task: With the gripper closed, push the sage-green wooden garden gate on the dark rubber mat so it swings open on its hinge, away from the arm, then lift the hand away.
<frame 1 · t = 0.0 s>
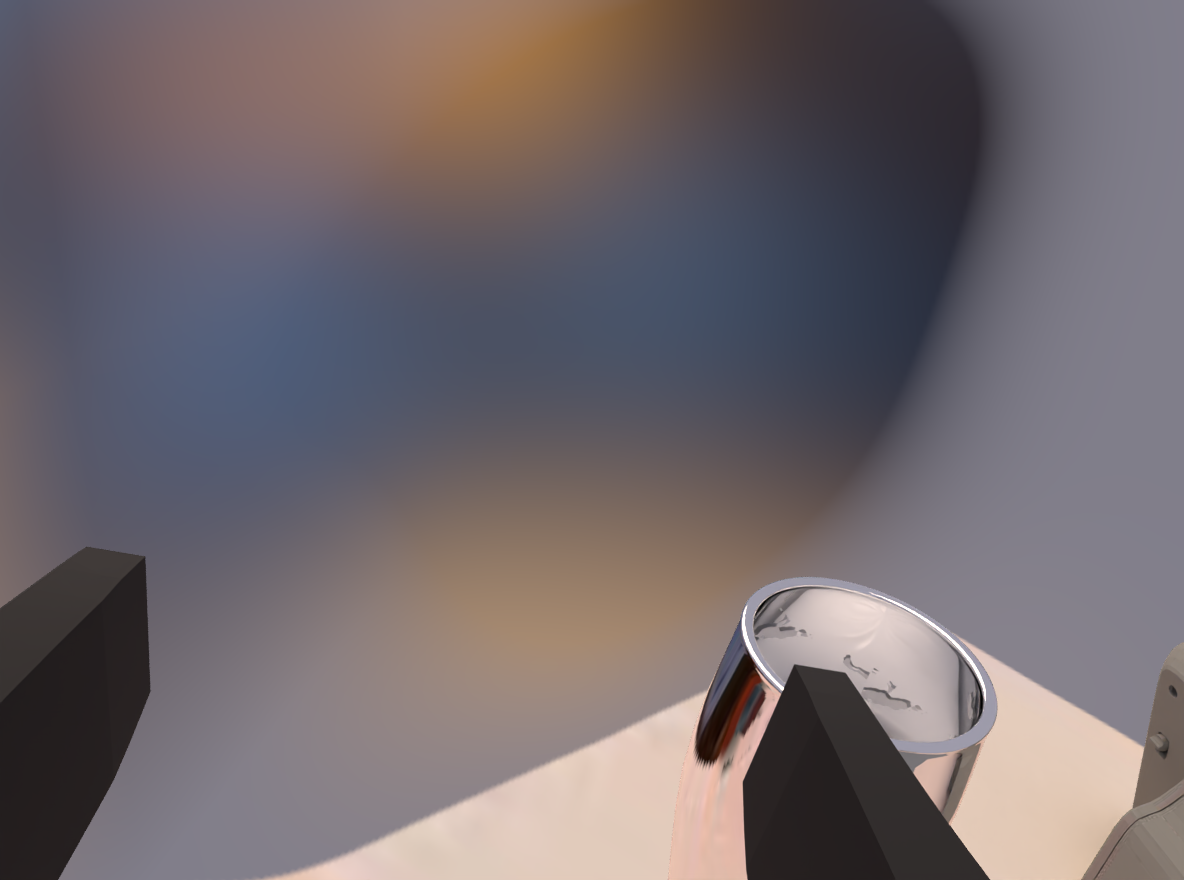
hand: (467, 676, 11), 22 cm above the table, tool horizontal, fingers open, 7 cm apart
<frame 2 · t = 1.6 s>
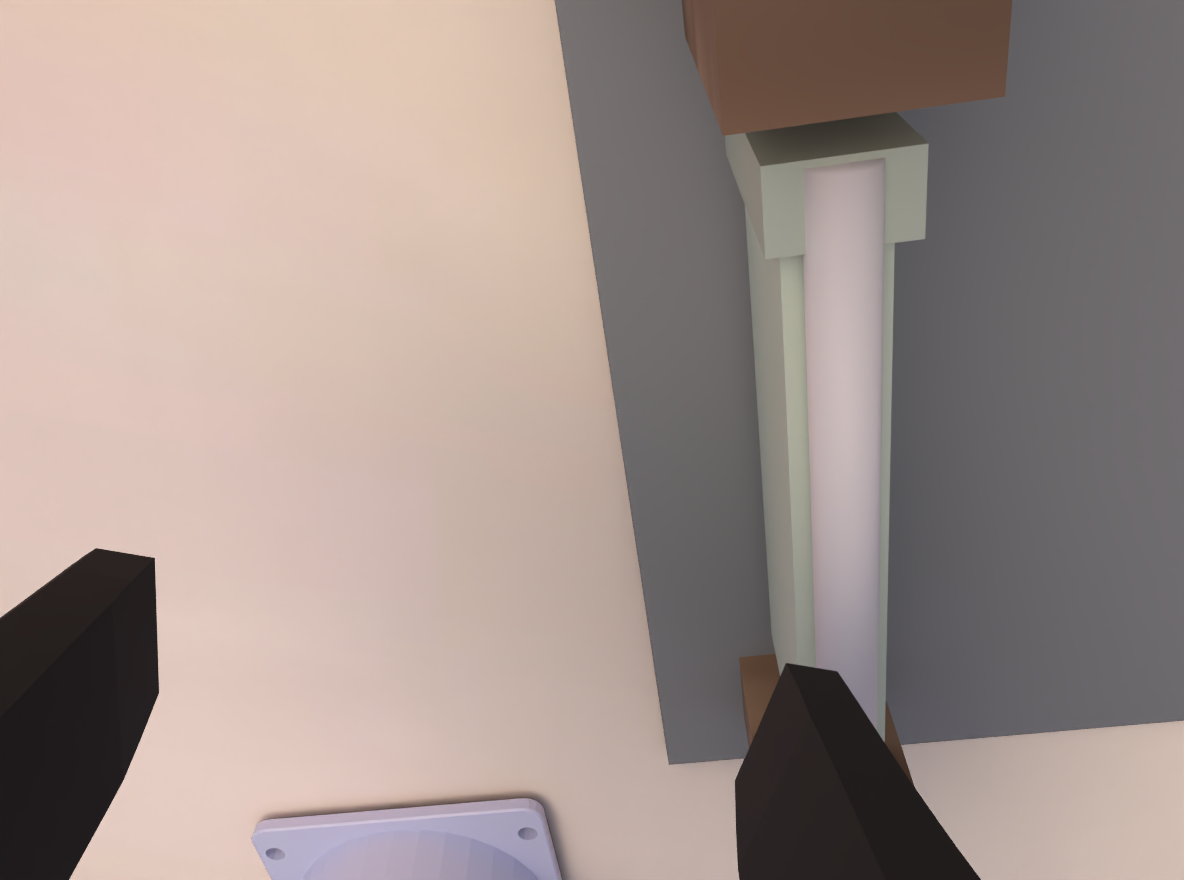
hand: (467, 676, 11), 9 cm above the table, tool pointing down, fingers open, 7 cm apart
gate: (820, 470, 17), point 3 cm above the table, hinge at 0.0°
yard mat: (1103, 321, 19), on the table
gate posts: (799, 623, 23), resting on yard mat
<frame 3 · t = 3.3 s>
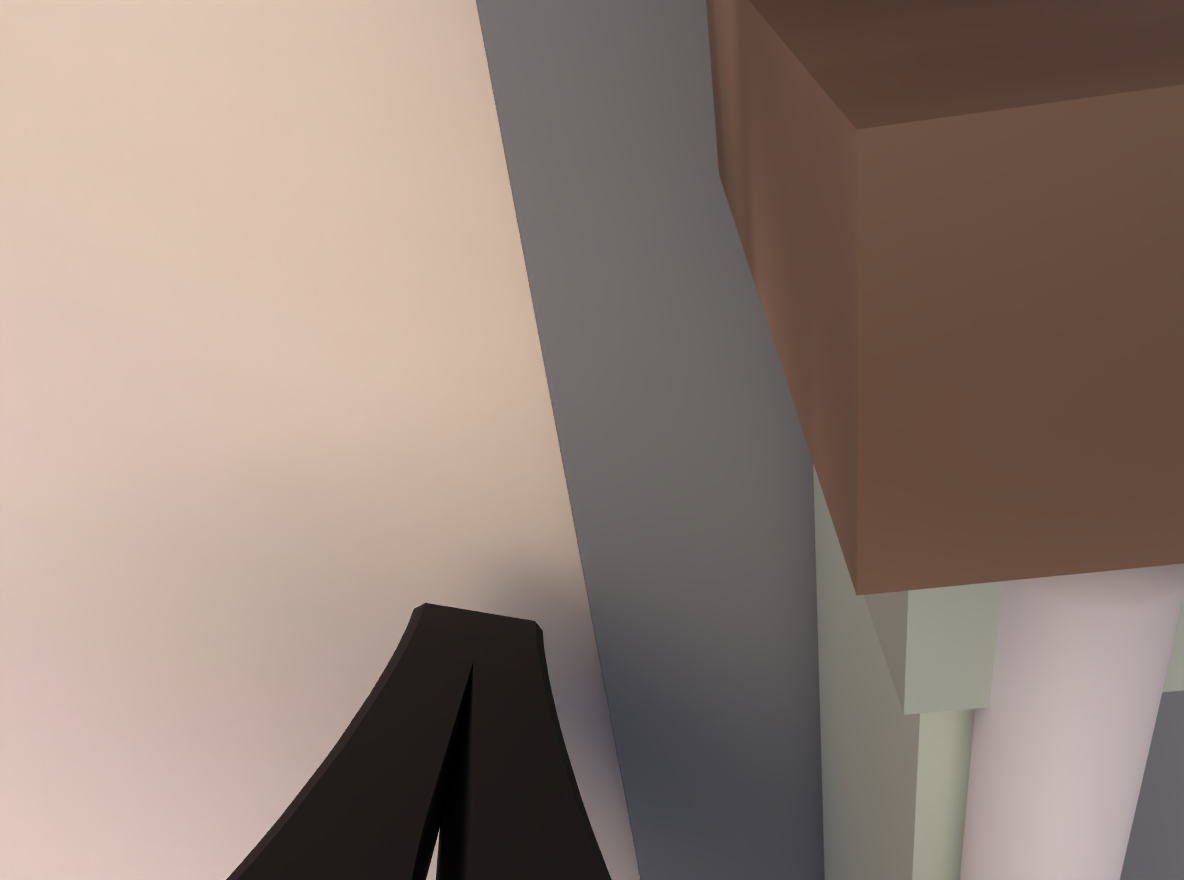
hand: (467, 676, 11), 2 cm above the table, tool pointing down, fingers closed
gate: (935, 867, 10), point 3 cm above the table, hinge at 0.0°
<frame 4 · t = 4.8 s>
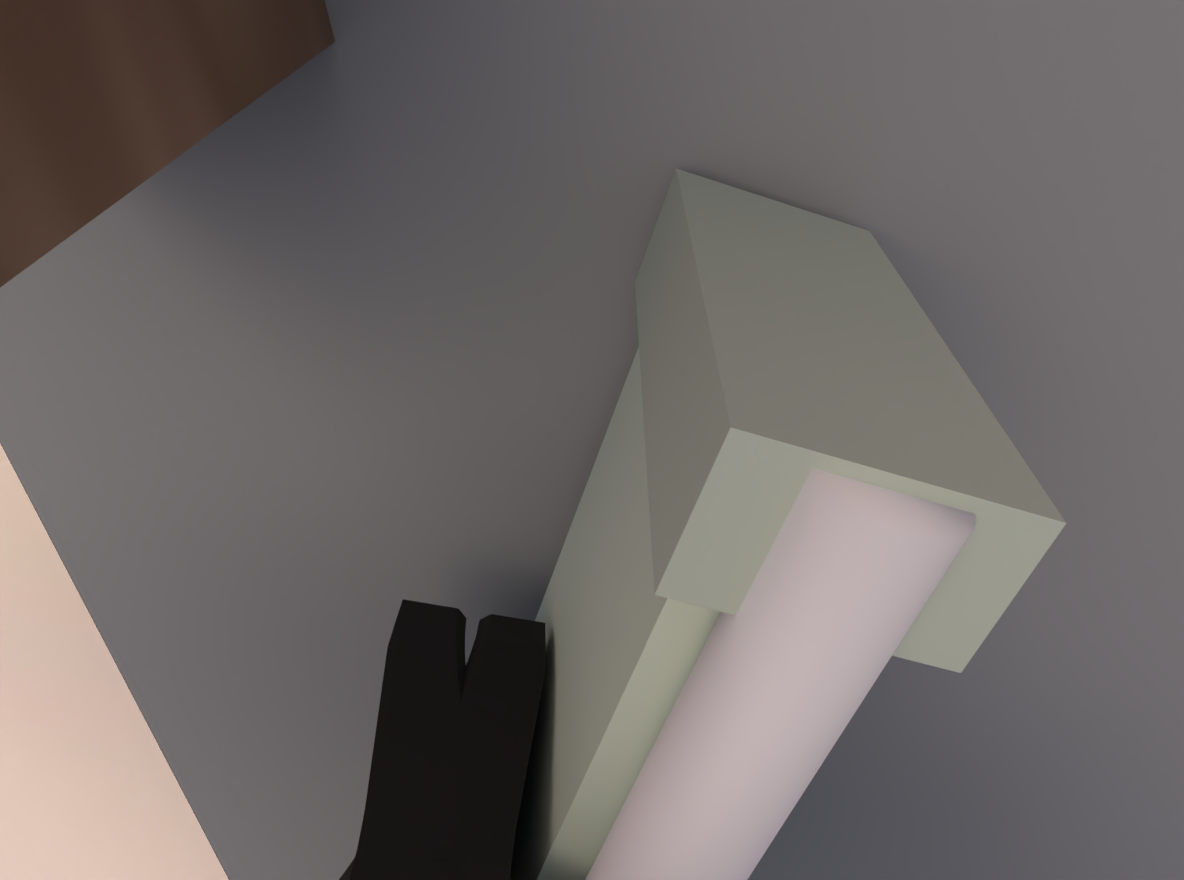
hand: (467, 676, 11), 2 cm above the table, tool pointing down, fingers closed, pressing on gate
gate: (581, 822, 10), point 3 cm above the table, hinge at 25.4°, touching gripper
yard mat: (830, 520, 12), on the table
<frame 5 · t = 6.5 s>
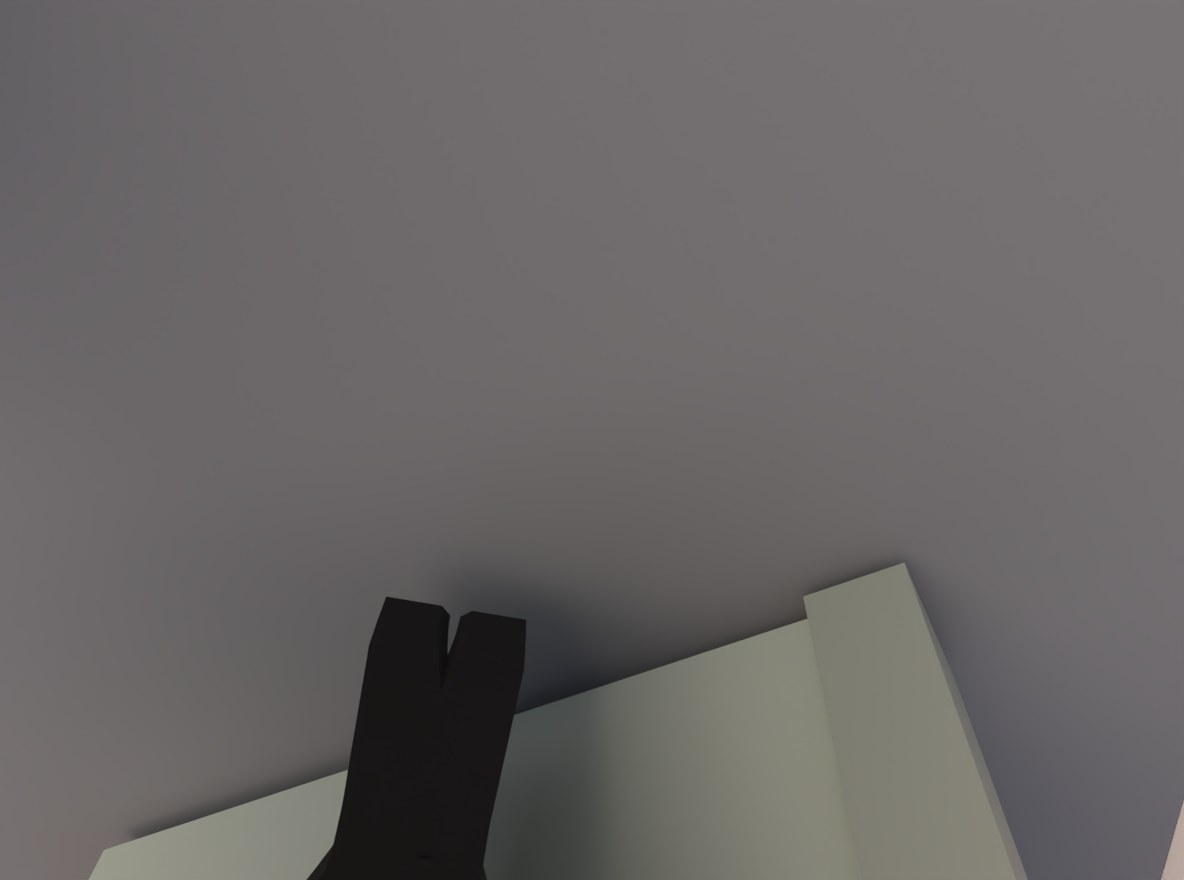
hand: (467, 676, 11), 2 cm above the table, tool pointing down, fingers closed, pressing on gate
yard mat: (400, 433, 11), on the table
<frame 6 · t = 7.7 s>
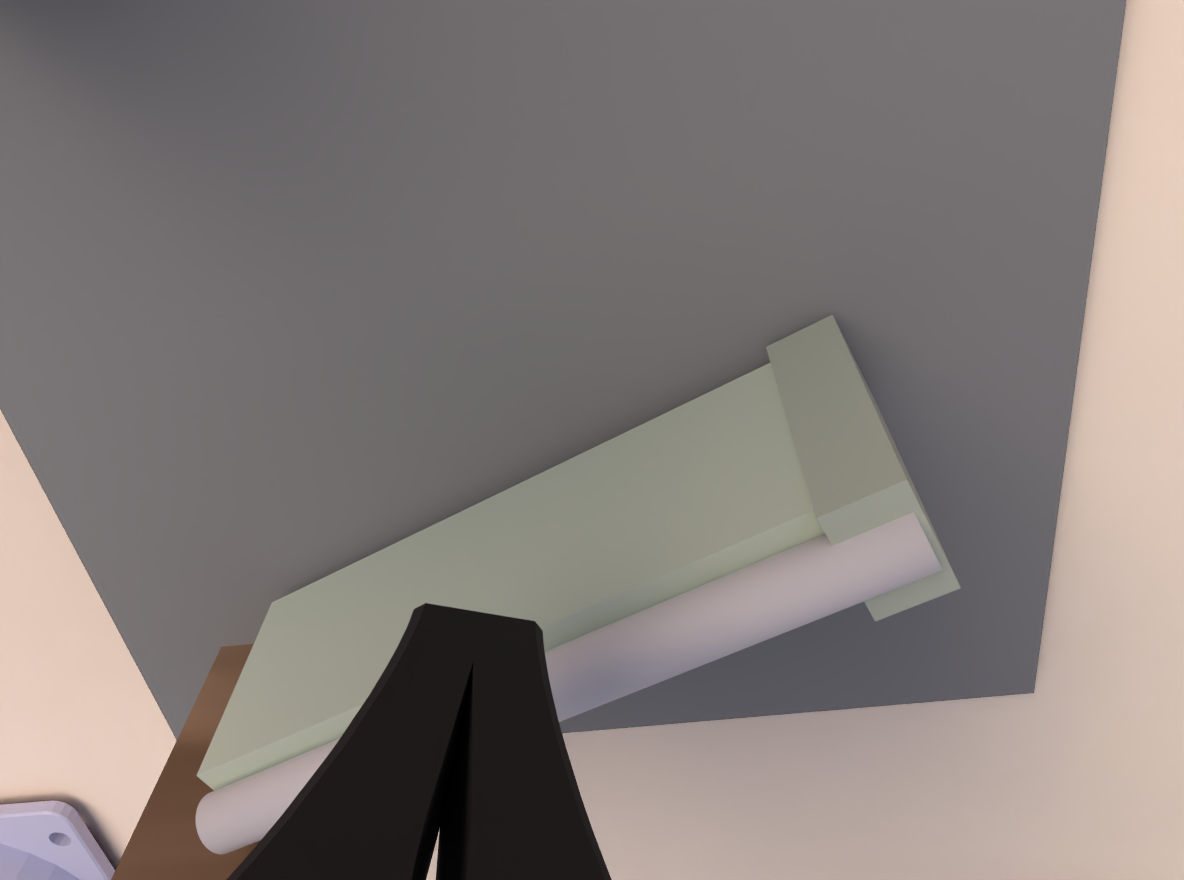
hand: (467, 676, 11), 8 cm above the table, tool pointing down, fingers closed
gate: (542, 597, 16), point 3 cm above the table, hinge at 67.9°, touching gate posts
yard mat: (504, 263, 17), on the table
gate posts: (287, 609, 21), resting on yard mat
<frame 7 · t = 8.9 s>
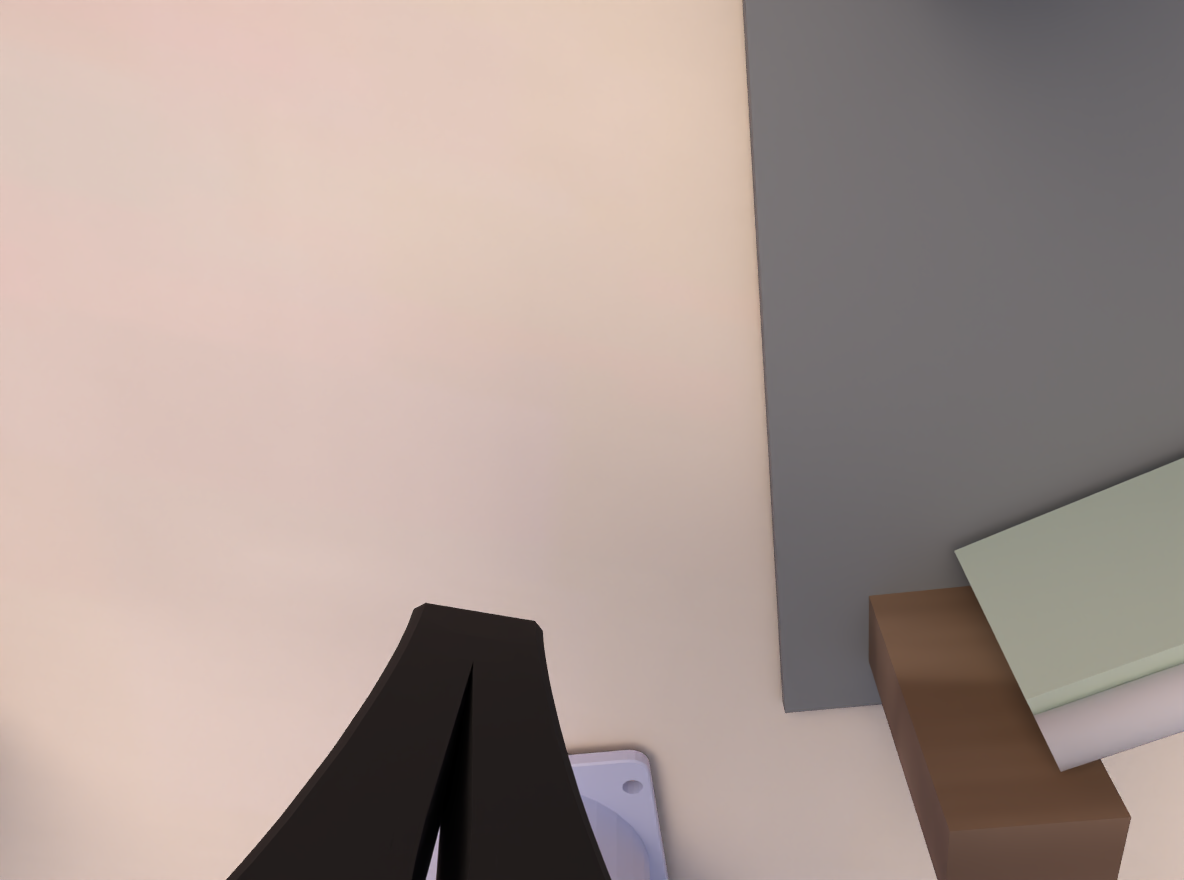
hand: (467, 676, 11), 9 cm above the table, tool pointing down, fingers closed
gate posts: (933, 560, 22), resting on yard mat
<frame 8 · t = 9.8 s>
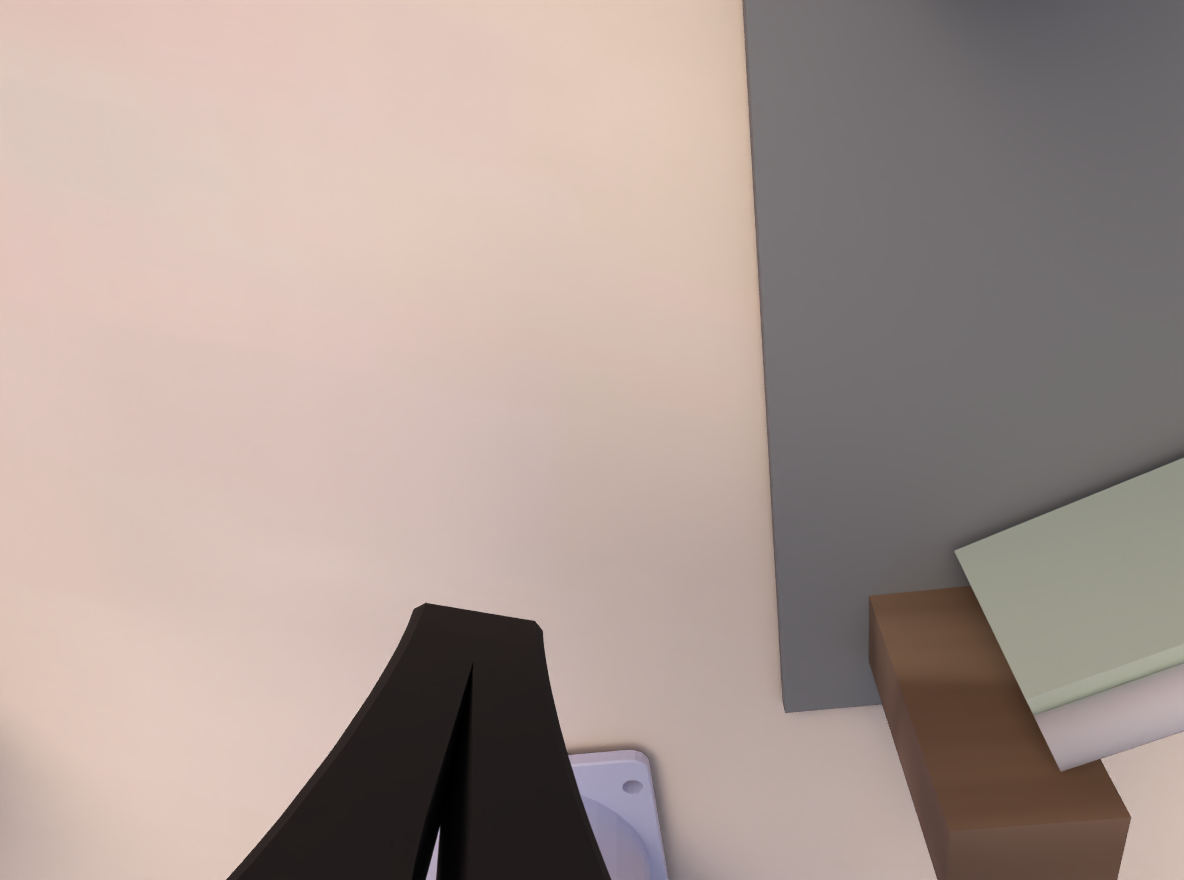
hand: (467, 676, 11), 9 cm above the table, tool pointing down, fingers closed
gate posts: (933, 560, 22), resting on yard mat
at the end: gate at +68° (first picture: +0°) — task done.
